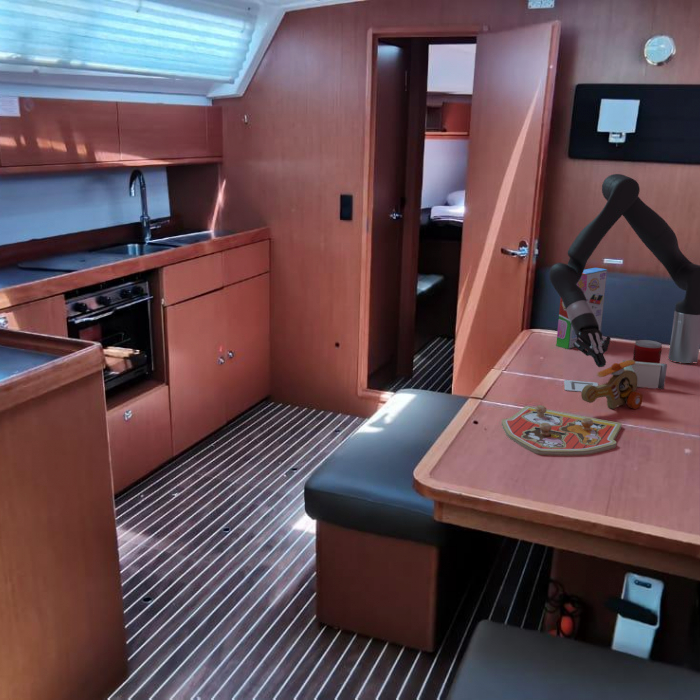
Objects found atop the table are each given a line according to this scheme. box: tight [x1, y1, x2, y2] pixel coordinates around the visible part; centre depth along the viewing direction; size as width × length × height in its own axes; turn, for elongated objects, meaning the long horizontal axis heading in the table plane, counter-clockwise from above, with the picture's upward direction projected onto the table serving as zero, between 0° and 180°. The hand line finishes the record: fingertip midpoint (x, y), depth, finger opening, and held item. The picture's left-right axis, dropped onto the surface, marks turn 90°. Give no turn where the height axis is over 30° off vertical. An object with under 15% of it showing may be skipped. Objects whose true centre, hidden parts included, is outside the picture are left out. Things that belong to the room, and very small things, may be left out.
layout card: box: [563, 379, 599, 393], centre depth 224 cm, size 10×10×1 cm
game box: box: [555, 267, 608, 350], centre depth 270 cm, size 21×6×27 cm, turn 130°
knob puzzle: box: [501, 404, 623, 457], centre depth 187 cm, size 29×30×4 cm
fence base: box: [622, 359, 668, 390], centre depth 225 cm, size 2×13×8 cm, turn 76°
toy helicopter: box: [580, 359, 644, 410], centre depth 204 cm, size 8×21×14 cm, turn 121°
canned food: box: [632, 339, 663, 364], centre depth 235 cm, size 8×8×11 cm
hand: (602, 365), depth 226 cm, fingers closed
